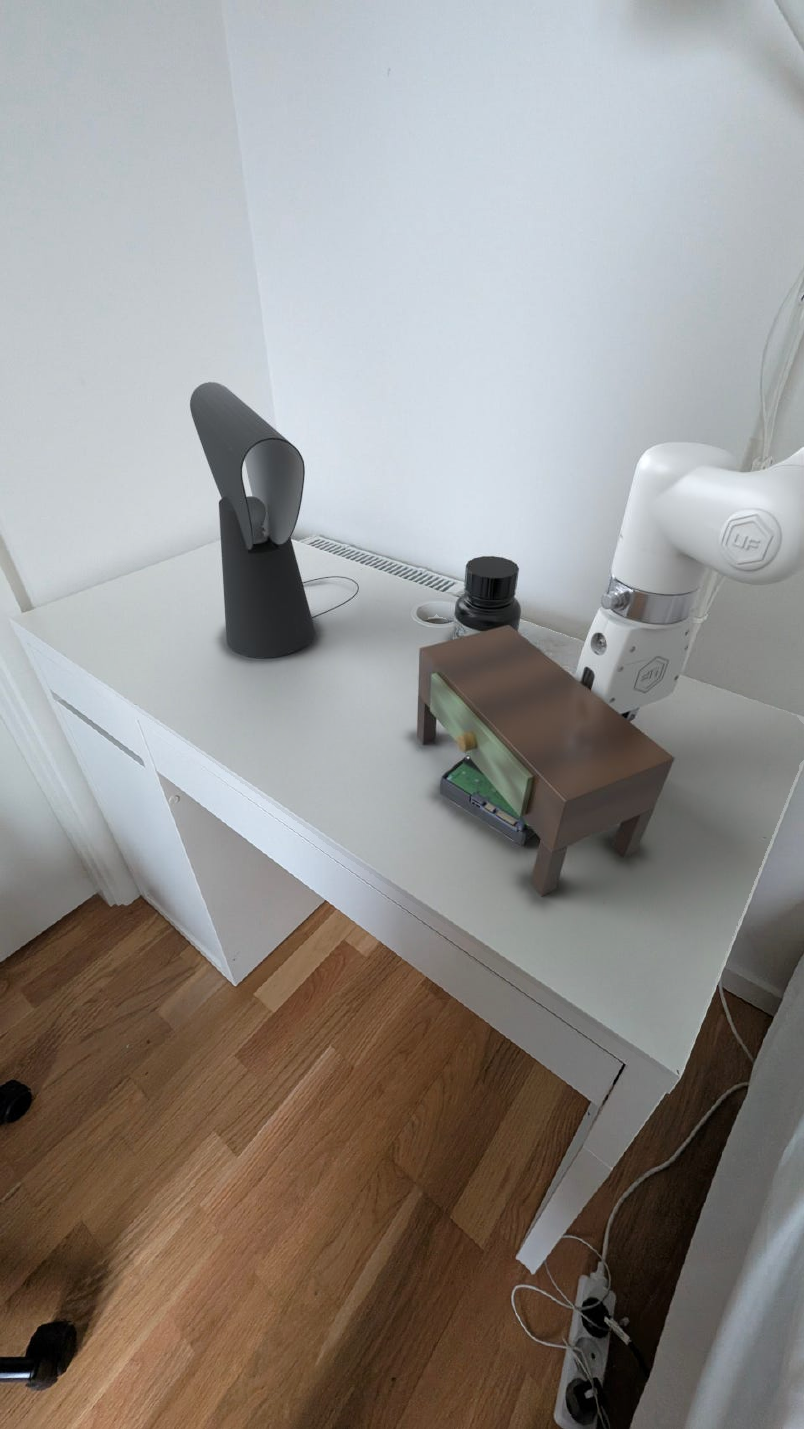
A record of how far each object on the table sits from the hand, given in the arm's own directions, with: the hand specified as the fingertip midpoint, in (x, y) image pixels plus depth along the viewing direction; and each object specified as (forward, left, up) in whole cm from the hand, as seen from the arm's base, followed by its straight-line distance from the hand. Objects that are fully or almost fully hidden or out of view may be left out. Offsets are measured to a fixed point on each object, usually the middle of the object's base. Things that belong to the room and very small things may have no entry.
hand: (603, 746), depth 64 cm
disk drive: (0, +11, -2) cm, 11 cm away
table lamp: (+47, +23, -2) cm, 52 cm away
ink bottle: (+25, -1, -2) cm, 25 cm away
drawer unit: (0, +11, -1) cm, 12 cm away
